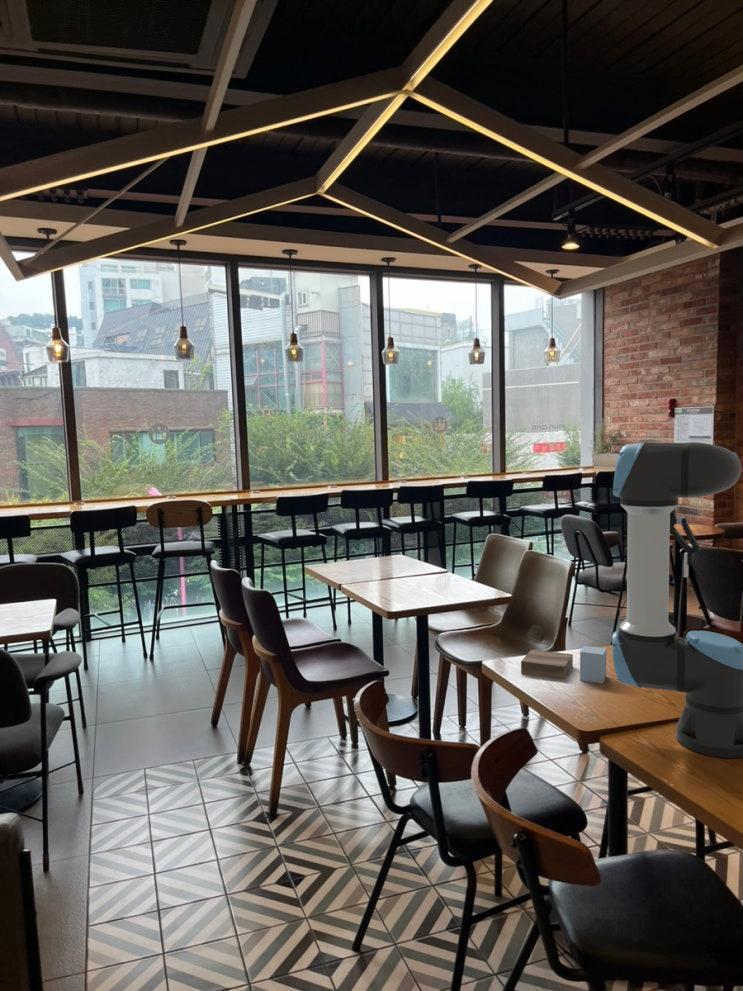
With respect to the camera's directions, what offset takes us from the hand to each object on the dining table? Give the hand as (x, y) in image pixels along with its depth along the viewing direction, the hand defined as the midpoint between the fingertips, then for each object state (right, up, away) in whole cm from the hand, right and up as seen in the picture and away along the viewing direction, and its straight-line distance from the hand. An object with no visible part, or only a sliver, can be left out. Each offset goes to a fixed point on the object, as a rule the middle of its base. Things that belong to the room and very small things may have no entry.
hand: (660, 574), depth 196 cm
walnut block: (-32, -28, +2) cm, 42 cm away
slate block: (-21, -28, -6) cm, 35 cm away
